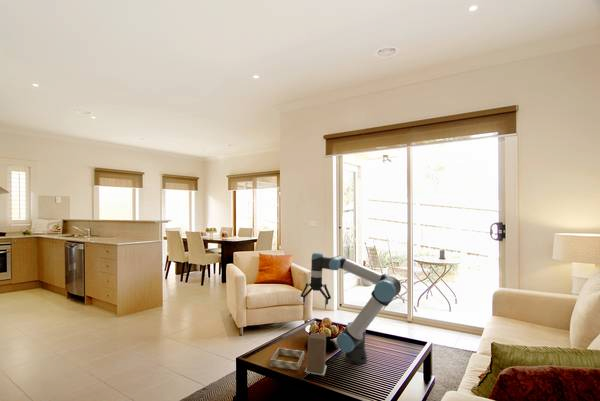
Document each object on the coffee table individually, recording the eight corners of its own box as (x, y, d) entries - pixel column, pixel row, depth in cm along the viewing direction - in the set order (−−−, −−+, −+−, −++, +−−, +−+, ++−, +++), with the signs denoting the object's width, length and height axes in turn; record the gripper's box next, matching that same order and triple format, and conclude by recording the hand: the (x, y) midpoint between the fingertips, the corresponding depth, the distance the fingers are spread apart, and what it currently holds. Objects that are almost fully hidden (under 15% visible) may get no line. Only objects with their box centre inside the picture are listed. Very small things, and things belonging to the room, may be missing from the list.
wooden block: (323, 373, 196) (324, 339, 196) (306, 371, 198) (307, 337, 198) (325, 366, 205) (326, 333, 206) (309, 363, 208) (310, 331, 208)
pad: (326, 366, 206) (326, 365, 206) (324, 375, 194) (324, 374, 194) (308, 363, 209) (308, 362, 209) (304, 372, 197) (304, 372, 197)
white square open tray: (304, 357, 217) (304, 351, 217) (298, 370, 200) (298, 363, 200) (277, 353, 221) (278, 347, 221) (270, 366, 203) (270, 359, 204)
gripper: (335, 276, 223) (334, 308, 222) (299, 274, 227) (297, 305, 226) (334, 278, 215) (333, 311, 215) (297, 276, 219) (295, 308, 219)
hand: (315, 308), depth 221 cm, fingers open, 13 cm apart
